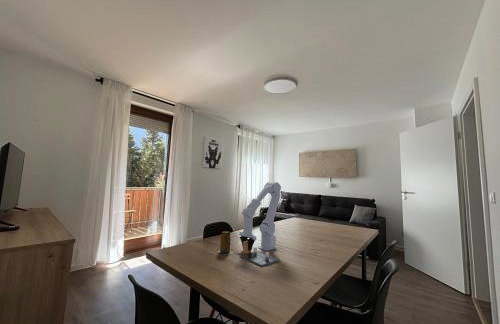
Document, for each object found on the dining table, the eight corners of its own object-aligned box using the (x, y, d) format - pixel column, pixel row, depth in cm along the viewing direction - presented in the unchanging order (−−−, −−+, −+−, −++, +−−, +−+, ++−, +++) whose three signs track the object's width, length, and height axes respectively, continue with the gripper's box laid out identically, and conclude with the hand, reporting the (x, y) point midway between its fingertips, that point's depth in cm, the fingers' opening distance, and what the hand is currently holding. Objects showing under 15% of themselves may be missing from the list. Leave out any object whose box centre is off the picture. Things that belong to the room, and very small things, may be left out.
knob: (247, 249, 136) (247, 239, 137) (252, 252, 132) (253, 241, 133) (241, 251, 133) (241, 240, 134) (246, 253, 129) (246, 242, 130)
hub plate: (258, 252, 132) (258, 244, 132) (279, 261, 118) (280, 252, 118) (240, 256, 123) (240, 247, 123) (261, 266, 109) (261, 256, 110)
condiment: (226, 249, 135) (227, 230, 136) (234, 253, 129) (235, 233, 130) (216, 251, 131) (217, 231, 132) (224, 255, 124) (225, 234, 125)
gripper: (236, 225, 137) (235, 247, 136) (250, 229, 126) (249, 253, 125) (244, 224, 142) (243, 245, 140) (259, 228, 130) (258, 251, 129)
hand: (247, 249), depth 133 cm, fingers closed on knob, 5 cm apart
